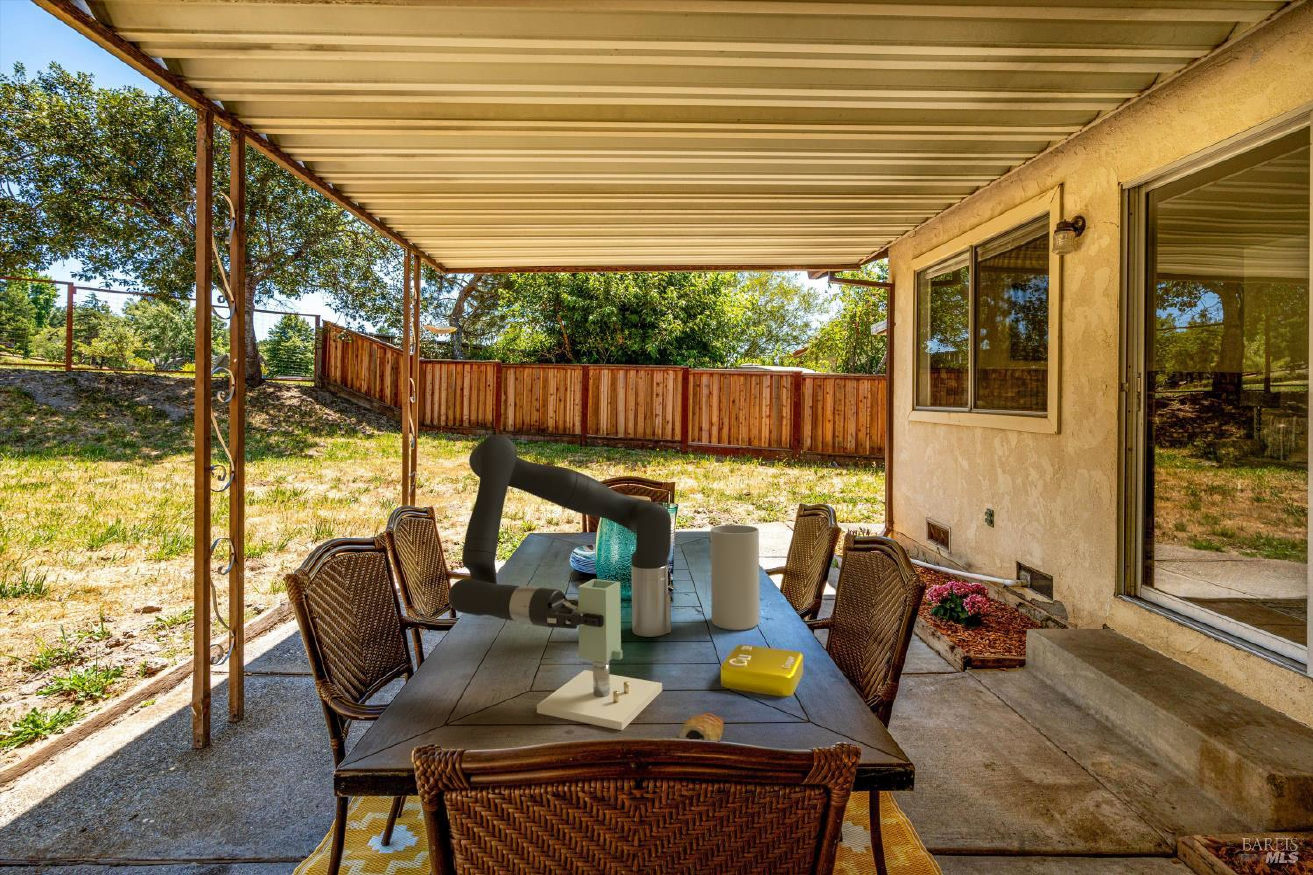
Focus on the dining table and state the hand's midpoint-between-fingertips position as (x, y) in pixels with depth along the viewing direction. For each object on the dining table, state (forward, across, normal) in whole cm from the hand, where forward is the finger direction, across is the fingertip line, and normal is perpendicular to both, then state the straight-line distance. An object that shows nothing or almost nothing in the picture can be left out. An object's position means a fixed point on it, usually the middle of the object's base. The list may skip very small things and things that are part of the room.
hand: (610, 616), depth 129 cm
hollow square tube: (-2, 0, +8) cm, 8 cm away
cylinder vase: (+8, +54, +17) cm, 58 cm away
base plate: (-2, 0, +17) cm, 17 cm away
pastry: (+21, -6, +18) cm, 28 cm away
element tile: (+24, +23, +18) cm, 37 cm away
